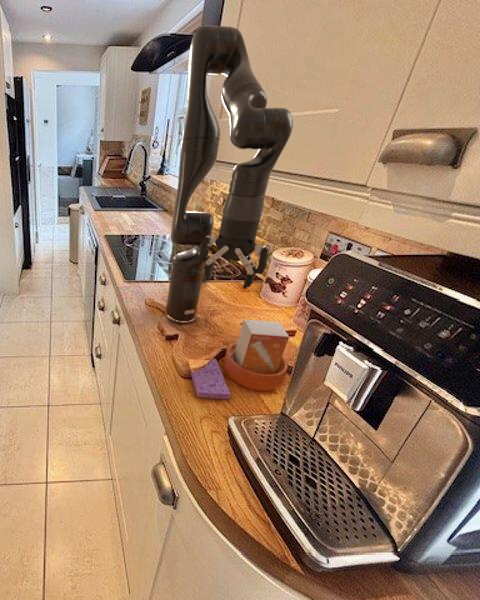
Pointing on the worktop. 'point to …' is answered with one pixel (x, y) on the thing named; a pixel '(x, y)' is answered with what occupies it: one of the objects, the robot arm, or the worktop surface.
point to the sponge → (210, 382)
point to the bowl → (253, 373)
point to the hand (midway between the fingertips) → (226, 282)
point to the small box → (260, 346)
